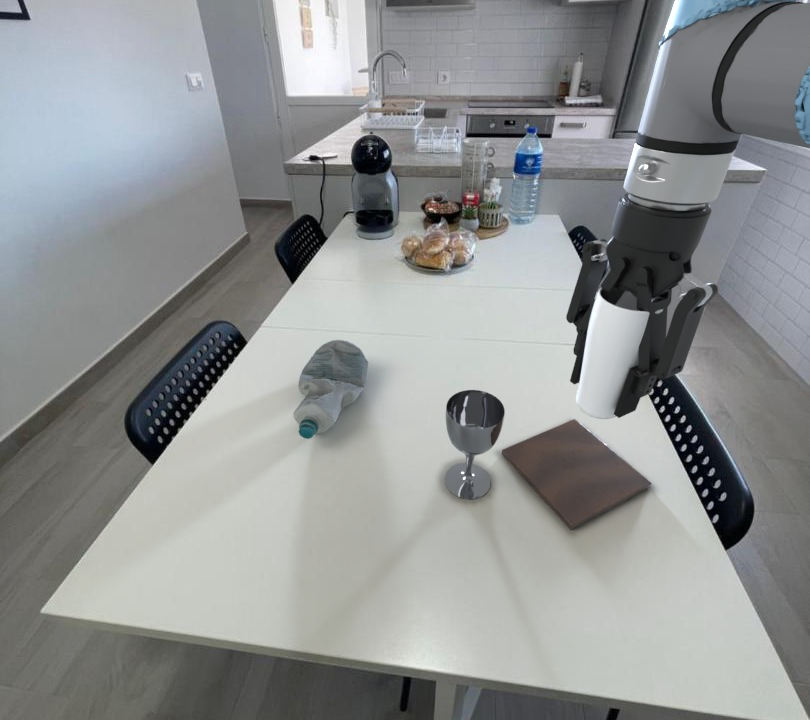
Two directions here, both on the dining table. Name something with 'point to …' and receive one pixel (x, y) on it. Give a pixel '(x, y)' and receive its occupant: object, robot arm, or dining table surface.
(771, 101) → the robot arm
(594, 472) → the walnut board
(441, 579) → the dining table surface
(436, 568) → the dining table surface
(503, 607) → the dining table surface
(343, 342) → the crushed plastic bottle
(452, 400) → the silver metal goblet
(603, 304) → the drinking glass
